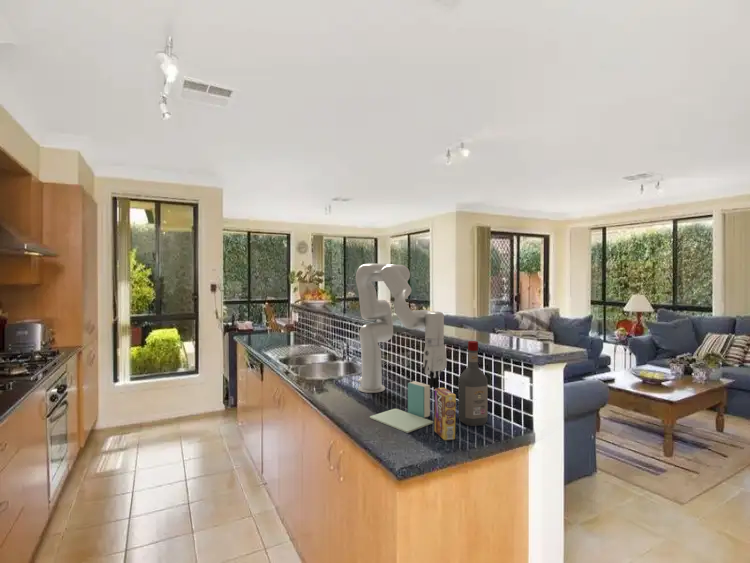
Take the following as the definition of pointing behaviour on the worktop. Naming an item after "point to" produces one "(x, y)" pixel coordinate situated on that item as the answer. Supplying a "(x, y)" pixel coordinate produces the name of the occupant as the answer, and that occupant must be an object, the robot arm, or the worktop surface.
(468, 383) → the liquor
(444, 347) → the robot arm
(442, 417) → the candy box
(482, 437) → the worktop surface
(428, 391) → the tile
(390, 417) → the mat
